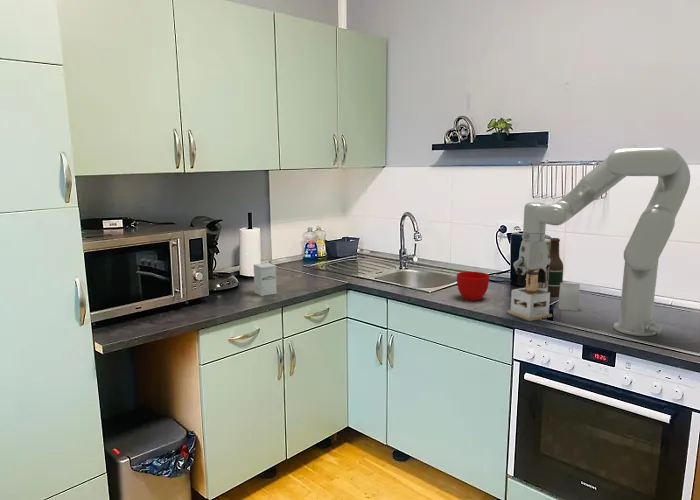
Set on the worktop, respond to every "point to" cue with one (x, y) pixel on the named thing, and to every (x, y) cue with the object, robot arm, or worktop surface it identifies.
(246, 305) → the worktop surface
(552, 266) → the beer bottle
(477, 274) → the ceramic cup
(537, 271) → the wooden post
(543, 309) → the collar stand
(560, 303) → the light gray block
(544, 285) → the wooden log
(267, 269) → the supplement box
